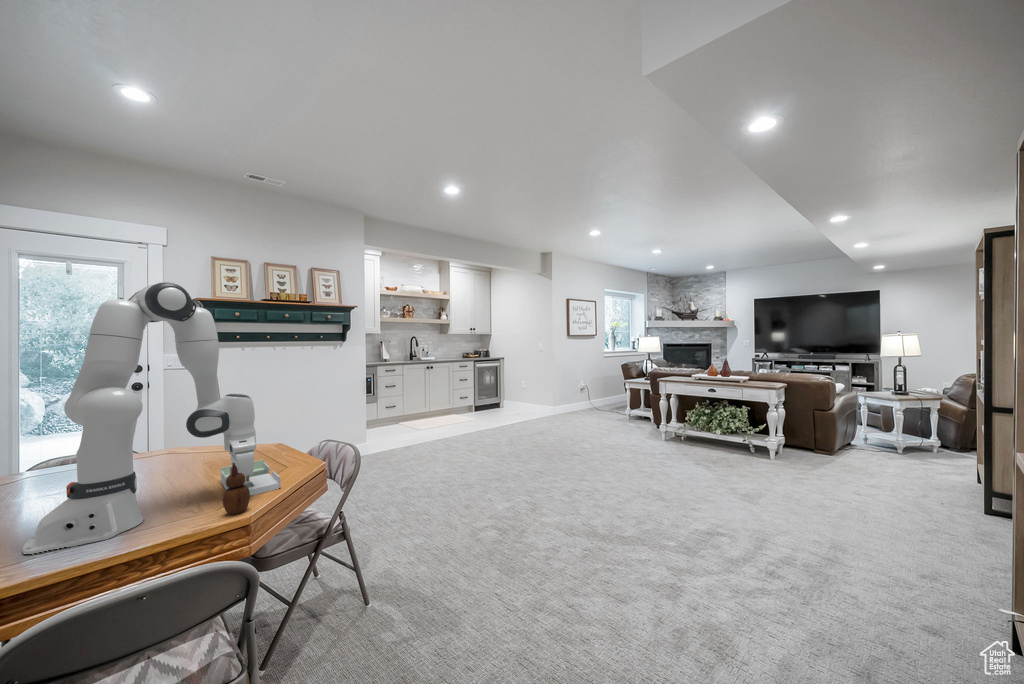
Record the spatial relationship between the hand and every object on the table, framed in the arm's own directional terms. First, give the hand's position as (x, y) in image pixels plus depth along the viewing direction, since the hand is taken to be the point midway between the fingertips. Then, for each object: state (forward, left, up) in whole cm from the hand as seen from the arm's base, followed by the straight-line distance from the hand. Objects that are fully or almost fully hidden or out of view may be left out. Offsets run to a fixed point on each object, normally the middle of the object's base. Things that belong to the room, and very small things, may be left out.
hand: (242, 483), depth 138 cm
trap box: (+3, +9, -3) cm, 10 cm away
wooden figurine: (-4, -18, -3) cm, 19 cm away
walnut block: (0, +9, -1) cm, 9 cm away
